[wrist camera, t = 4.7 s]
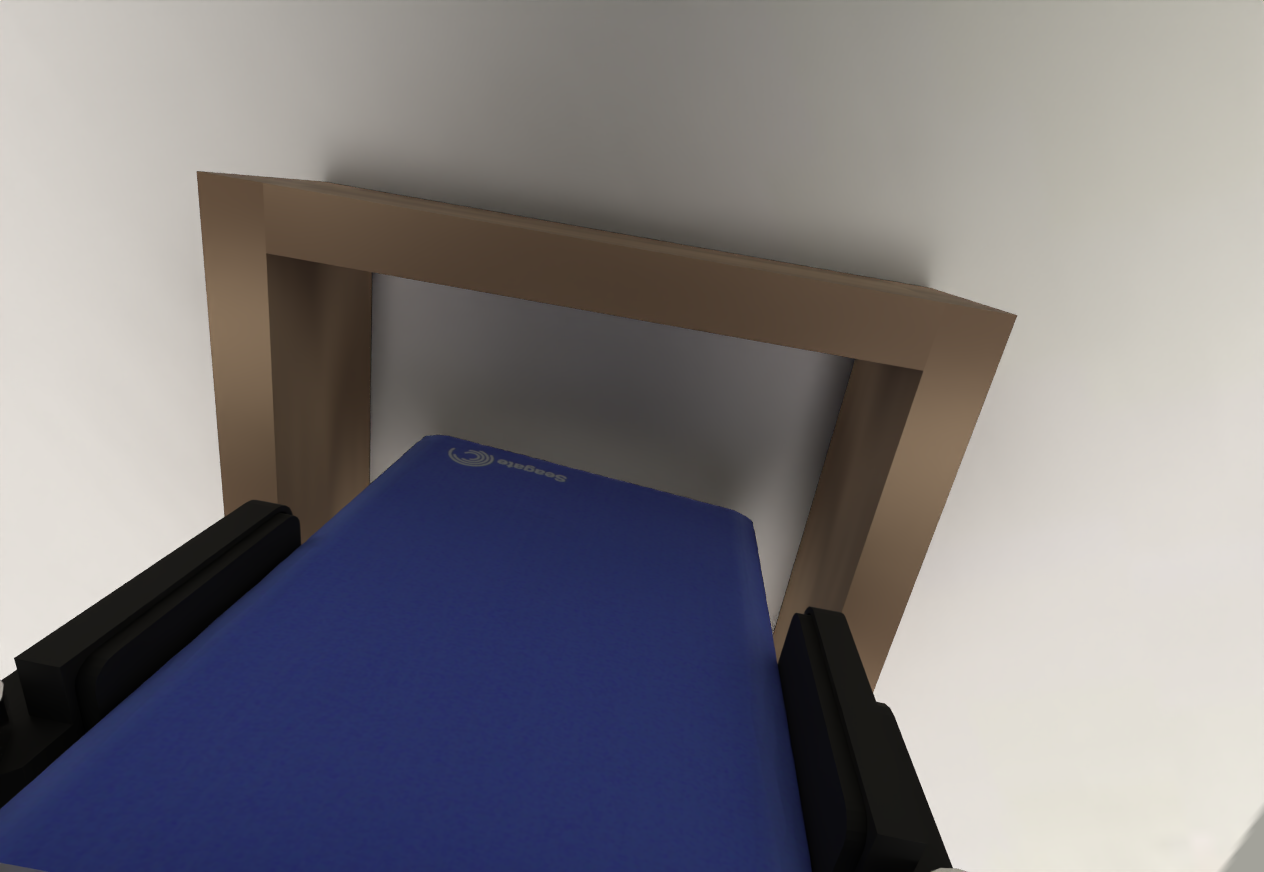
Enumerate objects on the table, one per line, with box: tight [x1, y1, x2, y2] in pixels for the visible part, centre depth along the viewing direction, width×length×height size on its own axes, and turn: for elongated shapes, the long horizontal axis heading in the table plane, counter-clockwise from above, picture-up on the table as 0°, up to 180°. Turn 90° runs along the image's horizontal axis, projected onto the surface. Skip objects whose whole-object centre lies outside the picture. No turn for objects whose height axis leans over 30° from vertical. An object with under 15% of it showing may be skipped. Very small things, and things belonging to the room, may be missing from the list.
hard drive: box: [0, 435, 812, 872], centre depth 9 cm, size 2×8×12 cm, turn 77°
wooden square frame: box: [197, 171, 1017, 692], centre depth 15 cm, size 13×14×4 cm
